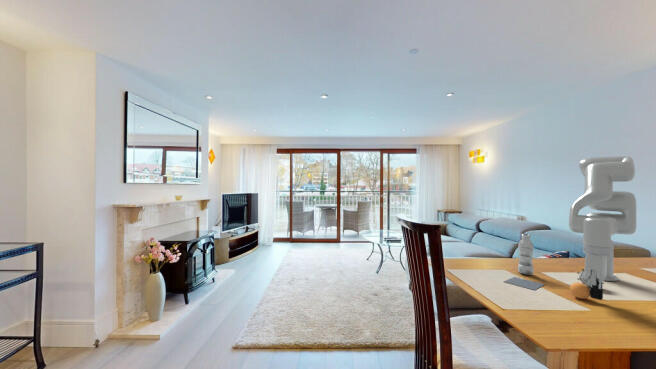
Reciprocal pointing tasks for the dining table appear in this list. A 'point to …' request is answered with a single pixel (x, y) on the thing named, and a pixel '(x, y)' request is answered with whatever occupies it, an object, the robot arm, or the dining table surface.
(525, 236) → the plastic bottle
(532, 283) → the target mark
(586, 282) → the grey spiky ball
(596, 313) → the dining table surface
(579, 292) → the ball
